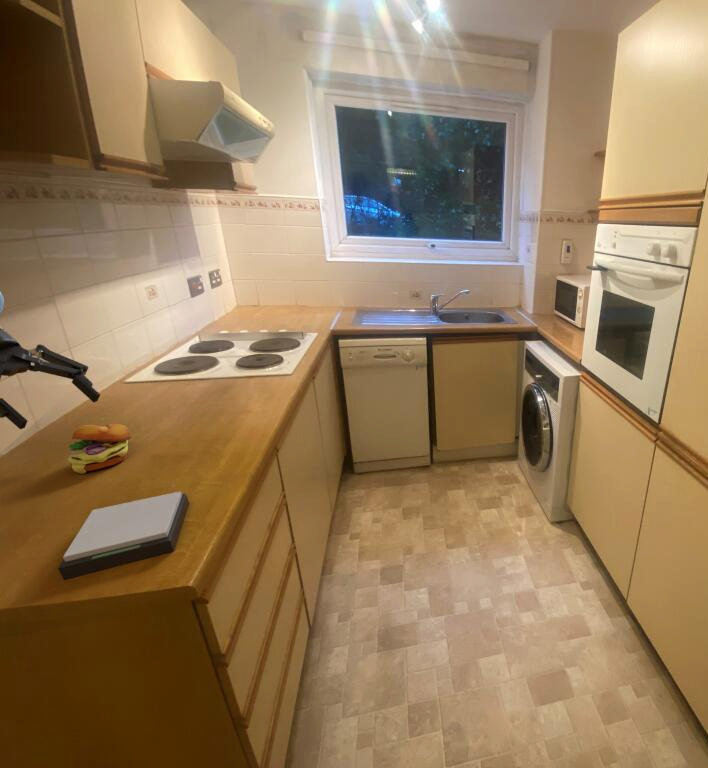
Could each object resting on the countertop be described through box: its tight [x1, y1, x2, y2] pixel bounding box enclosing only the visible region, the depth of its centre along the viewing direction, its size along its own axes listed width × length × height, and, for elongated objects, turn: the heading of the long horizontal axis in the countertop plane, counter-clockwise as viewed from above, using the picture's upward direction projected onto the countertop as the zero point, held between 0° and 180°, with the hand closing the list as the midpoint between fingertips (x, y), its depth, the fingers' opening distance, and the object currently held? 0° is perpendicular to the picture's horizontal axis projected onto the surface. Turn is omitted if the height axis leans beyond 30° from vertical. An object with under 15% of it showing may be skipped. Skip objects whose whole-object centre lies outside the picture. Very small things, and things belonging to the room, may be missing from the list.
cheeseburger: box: [67, 423, 133, 475], centre depth 96 cm, size 10×11×10 cm
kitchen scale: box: [57, 491, 190, 580], centre depth 75 cm, size 14×14×3 cm
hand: (63, 411), depth 95 cm, fingers open, 13 cm apart
